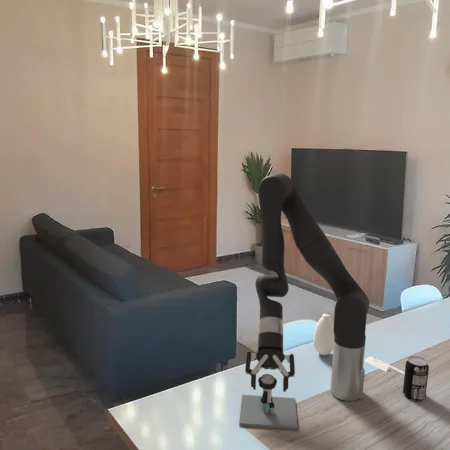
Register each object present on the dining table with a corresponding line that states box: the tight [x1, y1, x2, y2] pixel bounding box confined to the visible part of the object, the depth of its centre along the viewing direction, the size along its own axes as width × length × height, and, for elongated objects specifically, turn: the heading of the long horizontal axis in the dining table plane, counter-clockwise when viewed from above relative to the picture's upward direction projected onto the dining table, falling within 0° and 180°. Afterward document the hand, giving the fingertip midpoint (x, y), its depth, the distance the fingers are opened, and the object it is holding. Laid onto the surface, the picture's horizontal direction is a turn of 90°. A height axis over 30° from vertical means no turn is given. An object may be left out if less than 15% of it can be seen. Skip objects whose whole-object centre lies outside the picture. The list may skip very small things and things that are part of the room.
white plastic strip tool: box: [364, 355, 405, 376], centre depth 161 cm, size 5×15×1 cm, turn 36°
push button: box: [257, 373, 278, 415], centre depth 134 cm, size 7×5×10 cm
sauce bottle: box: [312, 307, 334, 356], centre depth 168 cm, size 8×8×18 cm
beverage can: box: [402, 355, 430, 402], centre depth 143 cm, size 7×7×12 cm
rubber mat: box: [238, 394, 299, 431], centre depth 135 cm, size 16×14×1 cm
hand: (269, 390), depth 132 cm, fingers open, 8 cm apart
